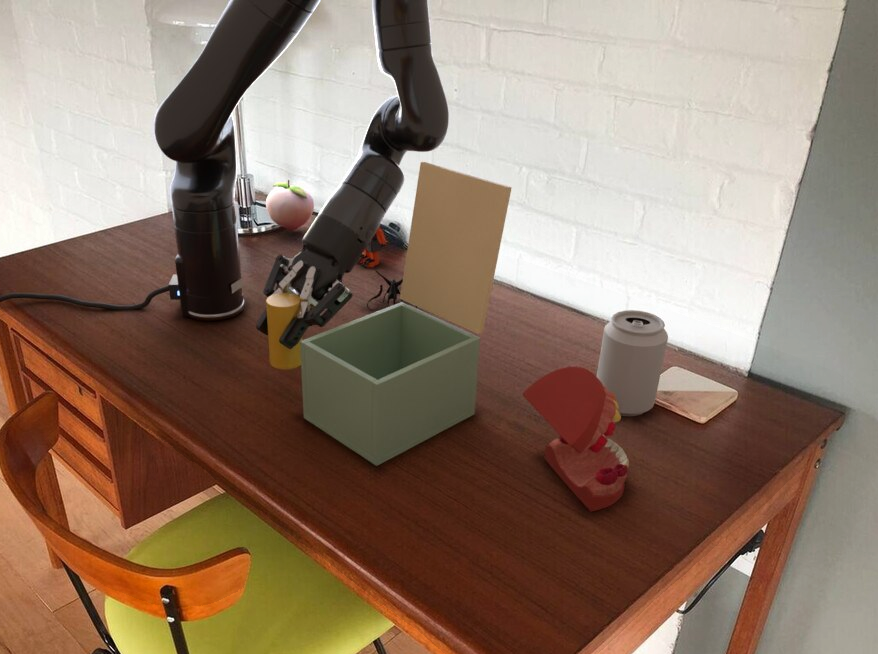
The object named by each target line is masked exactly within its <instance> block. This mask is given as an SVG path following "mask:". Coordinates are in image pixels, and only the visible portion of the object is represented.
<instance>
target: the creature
mask: <svg viewBox="0 0 878 654" xmlns="http://www.w3.org/2000/svg"><path fill="white" fill-rule="evenodd" d="M374 272H375V273H377V274H378V276H379V277H381V278H382V279H383V280H384V281H385V283H386V284H387V285H388V288H387V289H386V292H385V294H384V295H383V298H382V301H381V302H379V304H380V306H379V307H375V308H374V309H371V308H369V303H370V302H371V301H373V300H375V299H377V298H379V297H380V296H381V295H382V293H383V290H384V287H383V284H380V285H379V287H380V289H379V290H378V291H379V292H378V293H377V294H376V295H375V296H373V297H371V298H370V299H369V300H367V301H368V302H367V303H366V307H367V308H366V309H368V310H369V311H371V312H372V311H375V310H377V309H380V308H385V306H384V305H382V304H383V303H385V301H386V308H387V307H390V302H391V301H390V300H392V306H393V305H395V304H396V301H397V298H398V295H399V296H400V295H401V290H400V288H398V287H400V286H402V282H403V278H401V279H400V280H398V281H397V280H396V279H395V278H394V279H391V280H389V279H387V278H386V277H385V276H384V275H382V274H381V273H380V272H379V271H378V270H374ZM386 296H387V299H386ZM400 302H403V303H404V300H402V299H400ZM381 303H382V304H381ZM415 308H416V309H418V307H417V306H415Z"/></svg>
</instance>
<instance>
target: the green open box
mask: <svg viewBox="0 0 878 654" xmlns="http://www.w3.org/2000/svg"><path fill="white" fill-rule="evenodd" d="M480 347H481V337H480V336H477V335H475V334H473V333H471V332H469V331H466V330H465V329H462V328H460V327H458V326H456V325H453V324H452V323H449V322H447V321H444V319H443V320H442V319H440V318H438V317H436V316H434V315H433V314H429V313H427V312H425V311H424V310H420V309H418V308H416V307H414V306H411V305H410V304H408V303H406V302H404V301H403V302H402V301H400V302H398V303H395V305H393V304H392V305H389V307H387V306H386V307H384V308H382V309H380V310H378V311H374V312H372V313H369V314H367V315H364V316H362V317H359V318H357V319H354V320H351V321H349V322H346V323H344V324H341V325H338V326H336V327H334V328H330V329H328V330H325V331H322V332H320V333H318V334H315V335H312V336H310V337H307V338H306V339H302V341H300V351H301V365H300V370H301V387H302V410H303V419H305V420H306V421H308V422H309V423H311V424H312V425H314V426H315V427H317V428H318V429H320V430H321V431H323V432H324V433H325V434H327V435H328V436H330V437H332V438H333V439H335V440H336V441H338V442H339V443H341V444H343V446H345V447H347V448H348V449H350V450H351V451H353V452H354V453H356V454H358V455H359V456H360V457H362V458H364V459H365V460H367V461H368V462H370V463H371V464H373V465H374V466H376V467H377V466H380V465H381V464H383V463H385V462H387V461H389V460H391V459H393V458H395V457H396V456H399V455H400V454H402V453H404V452H406V451H408V450H410V449H411V448H414V447H415V446H417V445H420V444H421V443H423V442H425V441H427V440H429V439H431V438H433V437H435V436H437V435H438V434H441V433H442V432H444V431H446V430H448V429H449V428H452V427H454V426H455V425H457V424H459V423H461V422H462V421H465V420H466V419H468V418H470V417H472V416H474V415H475V414H476V402H477V401H476V400H477V387H478V373H479V360H480Z"/></svg>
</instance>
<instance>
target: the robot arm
mask: <svg viewBox="0 0 878 654" xmlns="http://www.w3.org/2000/svg"><path fill="white" fill-rule="evenodd" d="M371 2H372V3H371V5H372V7H371V9H372V21H373V22H372V23H373V31H374V38H375V39H374V41H375V49H376V57H377V63H378V68H379V70H380V72H381V73H383V75H385V76H387V77H389V78H390V79H391V80H392V81H393V82H394V85H395V88H396V93H397V94H396V95H393V96H391V97H389V98H387V99H386V100H385V101H383V102H382V104H381V105H380V106H379V107H378V108H377V109H376V111H375V113H374V114H373V115H372V117H371V120H370V122H369V124H368V127H367V129H366V132H365V135H364V137H363V140H362V142H361V145H360V148H359V152H358V154H357V157H356V159H355V161H354V162H353V163H352V165H351V167H349V168H348V171H347V172H346V174H345V176H344V177H343V178H342V180H341V182H340V184H339V185H338V186H337V187H336V189H335V190H334V191H333V192H332V193H331V195H330V196H329V197H328V199H327V200H326V201H325V203H324V205H323V206H322V207H321V209H320V210H319V213H318V214H317V215H316V217H315V219H314V220H313V221H312V223H311V225H310V226H309V228H308V230H307V231H306V233H305V234H304V236H303V237H302V239H301V244H302V249H301V251H299V253H297V254H296V255H295V256H294V257H293V258H291V257H290V258H288V257H286V256H284V254H278V255H277V256H276V257H275V259H274V263H273V265H272V268H271V270H270V272H269V276H268V278H267V280H266V283H265V286H264V288H263V291H262V293H263V295H265V296H266V298H268V297H269V296H271V295H273V294H277V293H292V294H296V295H298V296H299V297H300V300H301V303H300V306H299V309H298V311H297V314H296V316H297V318H295V317H293V318H292V320H291V322H290V323H289V325H288V326H287V328H286V329H285V331H284V332H283V334H282V336H281V337H280V339H279V342H280V343H281V344H282V345H284V346H285V347H287V348H289V349H292V348H293V347H294V346H296V345H297V344H298V342H299V341H300V339H301V337H302V338H303V336H304V334H305V333H306V331H307V330H308V328H309V327H312V326H318V327H320V328H323V327H325V326H326V325H327V324H328V323H329V322H330V321H331V320H332V319H333V317H334V316H336V315H337V314H338V312H340V310H341V309H342V308H344V307H345V305H346V304H347V303H348V302H349V301H350V300H351V299H352V298H353V295H354V294H353V292H352V291H351V290H350V289H349V288H348V287H347V286H346V285H344V284H343V283H342V282H343V278H344V275H345V274H349V273H350V272H352V270H353V269H354V268H355V266H356V264H357V261H358V260H359V258H360V256H361V255H362V254H364V250H365V249H366V247H367V245H368V244H369V242H370V241H371V239H372V238H373V236H374V234H375V233H376V231H377V230H378V228H379V226H380V224H382V221H383V219H384V217H385V215H386V214H387V212H388V211H389V209H390V208H391V206H392V204H393V203H394V201H395V200H396V198H397V197H398V195H399V194H400V192H401V190H402V188H403V187H404V184H405V173H404V171H403V169H402V168H401V167H400V166H401V164H402V161H403V158H404V157H405V155H406V153H407V152H416V153H429V152H433V151H435V150H436V149H438V148H439V147H440V146H441V145H442V144H443V142H444V141H445V138H446V137H447V134H448V130H449V125H450V110H449V105H448V104H449V103H448V100H447V97H446V93H445V90H444V87H443V84H442V80H441V76H440V74H439V71H438V67H437V65H436V63H435V60H434V56H433V44H432V43H433V42H432V30H431V22H430V19H431V18H430V7H429V0H371ZM320 3H321V0H229V1H228V3H227V5H226V7H225V8H224V10H223V12H222V13H221V15H220V17H219V19H218V21H217V22H216V24H215V26H214V27H213V28H214V29H213V30H212V32H211V34H210V36H209V38H208V40H207V42H206V43H205V45H204V47H203V49H202V51H201V53H200V54H199V56H198V57H197V58H196V60H195V62H194V63H193V64H192V65H191V67H190V68H189V69H188V71H187V72H186V73H185V74H184V76H183V77H182V78H181V79H180V81H179V82H178V83H177V85H176V86H175V87H174V88H173V89H172V90H171V92H170V93H169V94H168V95H167V96H166V98H164V100H163V101H162V102H161V104H160V105H159V106H158V108H157V110H156V112H155V116H154V119H153V135H154V140H155V142H156V144H157V146H158V148H159V150H160V152H161V153H163V155H164V156H165V157H167V158H168V159H169V160H171V161H173V162H175V167H174V174H173V176H172V180H171V183H170V186H169V195H170V204H171V209H172V211H171V212H172V220H173V225H174V235H175V242H176V252H177V254H176V256H175V260H174V263H175V270H176V274H172V276H171V278H170V281H169V283H168V285H165V286H163V287H162V286H161V287H159V288H157V289H155V290H153V291H151V292H150V293H148V294H147V296H146V297H145V300H144V301H143V302H140V303H137V304H130V305H120V304H112V303H106V302H105V303H104V302H97V301H87V300H82V299H77V298H74V297H72V296H71V297H70V296H67V295H63V294H62V295H61V294H51V293H50V294H49V293H48V294H47V293H44V294H43V293H32V292H12V293H11V292H10V293H6V294H3V295H0V303H2V302H4V301H7V300H13V299H31V300H32V299H34V300H47V301H49V300H50V301H51V300H52V301H61V302H66V303H70V304H74V305H77V306H81V307H87V308H94V309H95V308H96V309H102V310H103V309H104V310H109V311H132V310H134V311H135V310H141V309H143V308H146V307H147V306H149V305H150V303H151V302H152V301H153V298H155V297H156V296H159V295H161V294H164V293H167V292H169V299H170V300H171V301H173V300H177V301H179V302H180V310H181V317H182V318H191V319H193V320H197V321H204V322H215V321H223V320H228V319H230V318H233V317H236V316H238V315H239V314H241V313H242V312H243V311H244V309H245V298H244V292H243V291H244V290H243V287H244V285H243V284H244V283H243V276H242V267H241V257H240V256H241V255H240V244H239V231H238V221H237V219H238V218H237V208H236V207H237V206H236V195H235V189H236V182H237V176H238V174H237V173H238V168H237V167H238V165H237V145H236V131H235V121H234V115H233V113H234V111H235V110H236V107H237V105H238V104H239V102H240V101H241V99H242V98H243V96H245V94H246V92H247V91H248V90H249V88H250V87H251V86H252V85H254V83H255V82H256V81H257V80H258V79H259V78H260V77H261V76H262V75H263V74H264V73H265V72H266V71H267V70H268V69H269V68H270V67H271V66H272V65H273V64H274V63H275V62H276V61H277V60H278V59H279V58H280V57H281V55H282V54H283V53H284V52H285V51H286V50H287V48H288V47H289V46H290V45H291V44H292V42H293V41H294V40H295V38H296V37H297V36H298V35H299V33H300V32H301V30H302V29H303V28H304V26H305V25H306V23H307V22H308V20H309V19H310V17H311V16H312V14H313V13H314V11H315V10H316V8H317V7H318V5H319V4H320ZM255 328H256V330H258V331H259V333H260V332H261V334H263V335H265V336H268V323H267V307H265V309H264V310H263V312H262V314H261V315H260V317H259V318H258V320H257V323H256V327H255Z"/></svg>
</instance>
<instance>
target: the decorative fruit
mask: <svg viewBox="0 0 878 654" xmlns="http://www.w3.org/2000/svg"><path fill="white" fill-rule="evenodd" d="M272 187H273V189H272V190H271V191H270V192H269V194H268V195H267V197H266V200H265V208H266V212H267V214H268V216H269V218H270V219H271V220H272V221H273V223H275V224H276V225H277V226H279V227H283V228H284V229H287V230H289V231H290V232H292V231H294V230H297V229H299V228H301V227H302V226H304V225H305V224H306V223H307V222H309V220H310V219H311V217H312V215H313V213H314V208H315V203H314V198H313V196H312V195H311V193H310V192H309V191H308V190H307V189H305V188H303V187H300V186H297V185H291V184H290V179H288V180H287V182H286V181H280V182H275V183H273V185H272Z"/></svg>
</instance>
